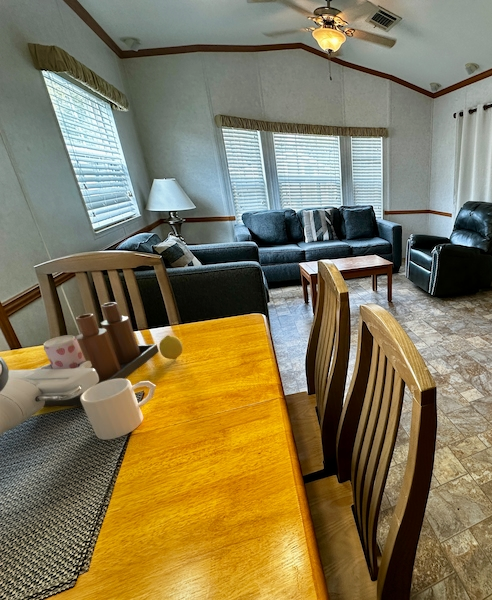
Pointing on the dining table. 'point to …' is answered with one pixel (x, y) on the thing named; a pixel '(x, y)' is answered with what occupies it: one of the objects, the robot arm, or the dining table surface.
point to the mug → (114, 407)
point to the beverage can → (64, 352)
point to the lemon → (171, 347)
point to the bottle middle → (97, 347)
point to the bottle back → (120, 333)
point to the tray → (125, 371)
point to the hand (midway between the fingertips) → (73, 363)
